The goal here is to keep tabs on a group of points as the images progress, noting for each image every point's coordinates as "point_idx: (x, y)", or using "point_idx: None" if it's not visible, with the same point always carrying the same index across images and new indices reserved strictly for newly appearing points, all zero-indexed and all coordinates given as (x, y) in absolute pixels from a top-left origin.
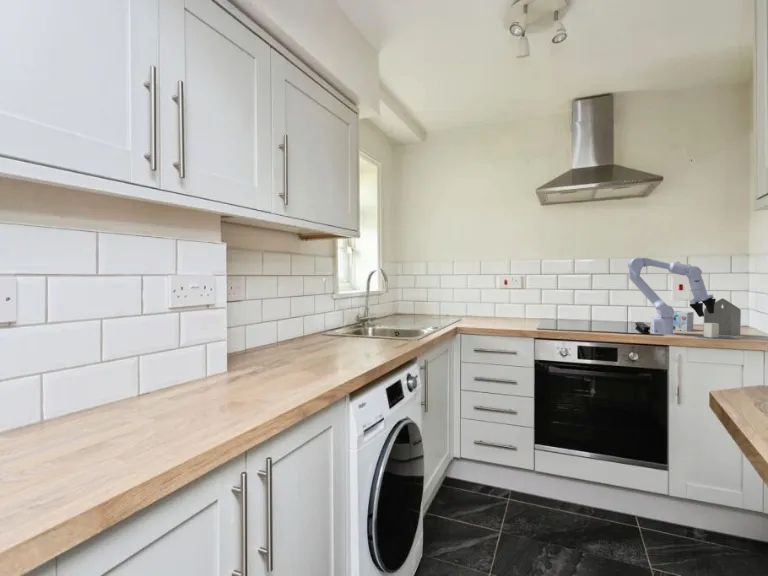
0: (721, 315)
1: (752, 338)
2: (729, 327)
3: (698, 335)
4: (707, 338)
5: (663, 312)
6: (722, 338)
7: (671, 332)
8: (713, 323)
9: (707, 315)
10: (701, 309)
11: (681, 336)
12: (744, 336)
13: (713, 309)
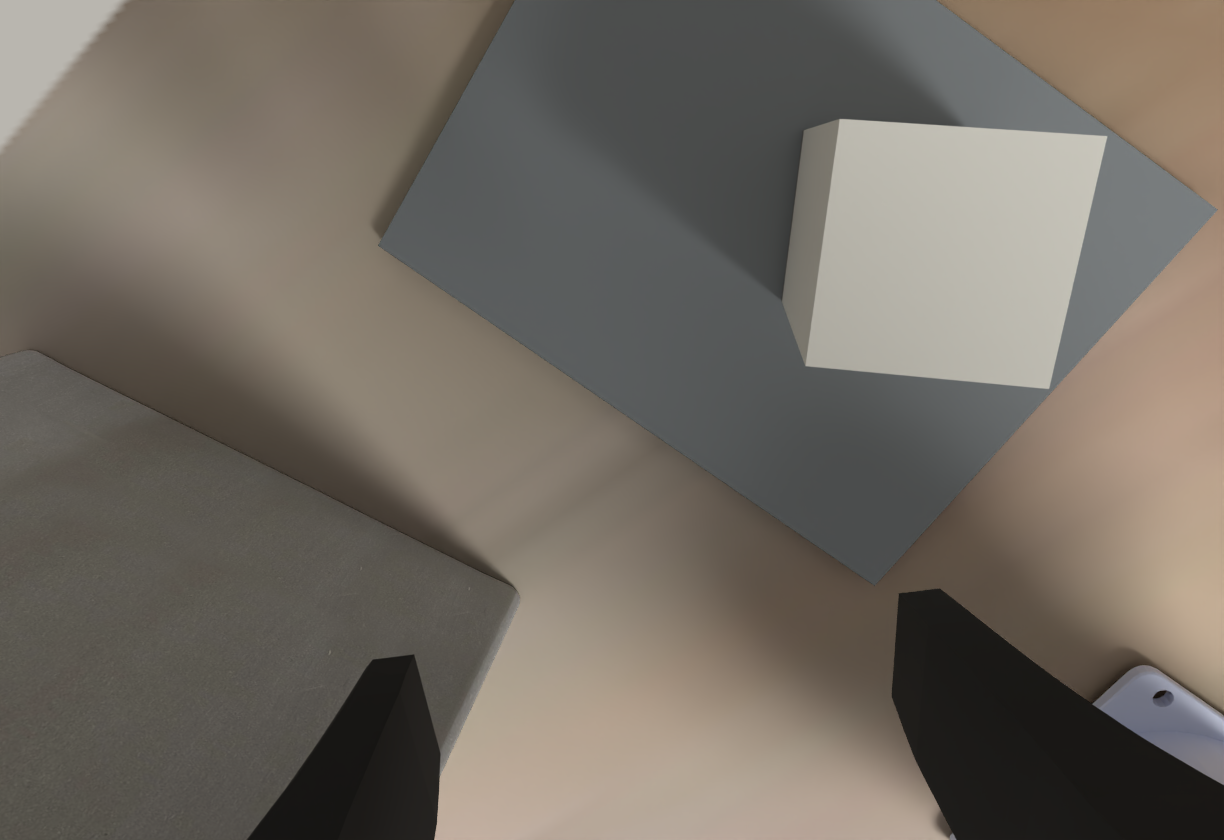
0: (10, 681)
1: (82, 53)
2: (75, 469)
3: (825, 488)
4: (1107, 129)
5: None
6: (789, 60)
7: (1177, 750)
8: (918, 217)
9: None
10: (1146, 752)
11: (1135, 567)
12: (12, 281)
13: (356, 739)
